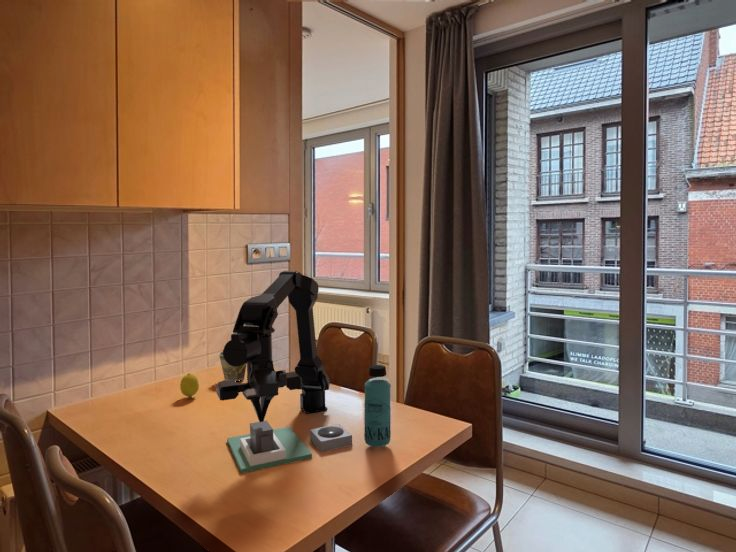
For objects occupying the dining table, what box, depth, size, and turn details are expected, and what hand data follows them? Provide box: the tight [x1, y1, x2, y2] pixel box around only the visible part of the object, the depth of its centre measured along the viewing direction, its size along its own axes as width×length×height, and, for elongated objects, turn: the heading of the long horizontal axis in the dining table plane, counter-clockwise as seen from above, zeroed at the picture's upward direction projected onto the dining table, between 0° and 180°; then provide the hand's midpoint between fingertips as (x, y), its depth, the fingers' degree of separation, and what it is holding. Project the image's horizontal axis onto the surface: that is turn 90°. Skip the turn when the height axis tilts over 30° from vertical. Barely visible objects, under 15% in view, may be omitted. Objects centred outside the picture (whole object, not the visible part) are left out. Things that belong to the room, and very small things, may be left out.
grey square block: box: [309, 423, 353, 453], centre depth 117 cm, size 8×8×3 cm
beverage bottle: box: [363, 364, 392, 448], centre depth 113 cm, size 6×7×20 cm
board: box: [226, 426, 313, 474], centre depth 113 cm, size 16×18×3 cm
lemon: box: [179, 372, 200, 399], centre depth 151 cm, size 6×6×8 cm
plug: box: [249, 420, 274, 454], centre depth 109 cm, size 4×7×6 cm, turn 26°
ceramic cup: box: [218, 351, 247, 382], centre depth 169 cm, size 13×10×10 cm
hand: (261, 421), depth 109 cm, fingers closed
